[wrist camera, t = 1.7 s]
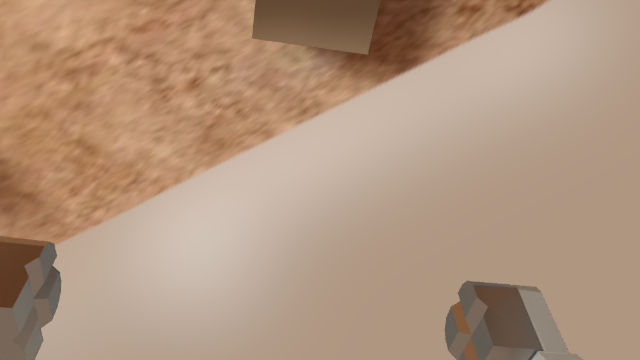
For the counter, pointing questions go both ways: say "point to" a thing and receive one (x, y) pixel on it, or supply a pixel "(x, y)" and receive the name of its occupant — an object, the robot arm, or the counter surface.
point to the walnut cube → (317, 23)
